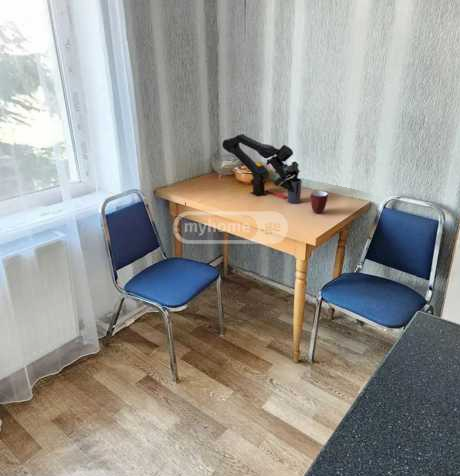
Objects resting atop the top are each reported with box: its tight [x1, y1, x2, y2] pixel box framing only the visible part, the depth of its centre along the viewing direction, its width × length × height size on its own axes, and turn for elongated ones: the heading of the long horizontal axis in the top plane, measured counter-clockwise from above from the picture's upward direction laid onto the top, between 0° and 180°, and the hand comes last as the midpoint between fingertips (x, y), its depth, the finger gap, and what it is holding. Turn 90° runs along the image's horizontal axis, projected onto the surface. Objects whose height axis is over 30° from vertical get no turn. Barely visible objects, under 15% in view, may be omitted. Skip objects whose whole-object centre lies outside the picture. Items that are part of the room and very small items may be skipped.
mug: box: [310, 190, 329, 215], centre depth 195 cm, size 11×8×10 cm
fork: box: [265, 188, 288, 200], centre depth 222 cm, size 16×3×1 cm, turn 36°
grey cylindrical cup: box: [286, 177, 303, 205], centre depth 209 cm, size 7×7×12 cm
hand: (296, 190), depth 208 cm, fingers closed on grey cylindrical cup, 7 cm apart
